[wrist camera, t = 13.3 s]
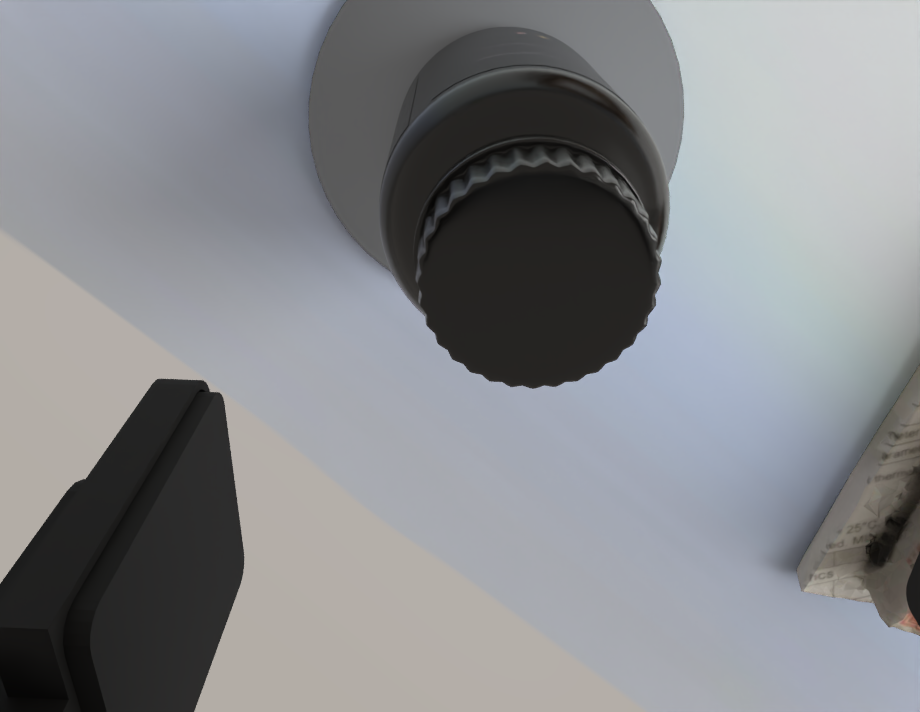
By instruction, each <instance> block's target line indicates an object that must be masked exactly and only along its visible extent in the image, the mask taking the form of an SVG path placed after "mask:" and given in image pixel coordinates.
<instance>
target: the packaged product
mask: <svg viewBox="0 0 920 712" xmlns="http://www.w3.org/2000/svg"><path fill="white" fill-rule="evenodd" d="M919 552H920V365H919V366H918V368H917V370H916V371H915V373H914V374H913V376H912V377H911V379H910V381H909V382H908V384H907V385H906V387H905V388H904V390H903V392H902V393H901V395H900V396H899V398H898V399H897V401H896V402H895V404H894V406H893V407H892V409H891V410H890V412H889V413H888V415H887V416H886V418H885V419H884V421H883V422H882V424H881V426H880V427H879V429H878V430H877V432H876V434H875V435H874V437H873V439H872V440H871V442H870V443H869V445H868V447H867V448H866V450H865V451H864V453H863V455H862V456H861V458H860V460H859V461H858V463H857V465H856V466H855V468H854V469H853V471H852V473H851V474H850V476H849V478H848V479H847V481H846V483H845V485H844V486H843V488H842V490H841V492H840V493H839V495H838V497H837V499H836V500H835V502H834V504H833V506H832V507H831V509H830V511H829V512H828V514H827V516H826V518H825V519H824V521H823V523H822V525H821V526H820V528H819V530H818V532H817V533H816V535H815V537H814V538H813V540H812V542H811V544H810V545H809V547H808V549H807V551H806V552H805V554H804V556H803V558H802V559H801V561H800V564H799V566H798V568H797V570H796V571H797V575H798V579H799V583H800V587H801V591H803V592H808V593H813V594H819V595H824V596H829V597H837V598H845V599H851V600H855V601H861V602H870V603H874V604H875V606H876V608H877V610H878V613H879V615H880V617H881V618H882V620H883V621H884V622H885V623H886V624H887V625H888V627H896V628H898V629H901V630H903V631H907V632H911V633H914V634H917V635H919V636H920V627H919V625H918V623H917V622H916V620H915V618H914V617H913V615H912V613H911V611H910V609H909V607H908V603H907V597H906V586H907V582H908V579H909V576H910V574H911V572H912V569H913V567H914V564H915V562H916V559H917V557H918V554H919Z"/></svg>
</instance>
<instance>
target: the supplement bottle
mask: <svg viewBox="0 0 920 712" xmlns="http://www.w3.org/2000/svg"><path fill="white" fill-rule="evenodd" d="M669 212H670V197H669V186H668V179H667V175H666V171H665V166H664V164H663V161H662V158H661V155H660V152H659V150H658V148H657V146H656V144H655V142H654V140H653V138H652V137H651V135H650V133H649V132H648V130H647V128H646V127H645V125H644V124H643V122H642V121H641V120H640V118H639V117H638V116H637V115H636V113H635V112H634V111H633V110H632V109H631V108H630V106H629V105H628V104H627V103H626V102H625V101H624V100H623V99H622V98H621V97H620V96H619V95H618V94H617V93H616V92H615V91H614V90H613V89H612V88H611V86H610V85H609V84H608V83H607V82H606V81H605V80H604V79H603V78H602V77H601V76H600V75H599V74H598V73H597V72H596V71H595V70H594V69H593V68H592V66H591V65H590V64H589V63H588V62H587V61H586V60H585V59H584V58H583V57H581V56H580V55H579V54H578V53H577V52H576V51H574V50H573V49H572V48H571V47H569V46H568V45H566V44H565V43H563V42H562V41H560V40H558V39H556V38H554V37H552V36H550V35H547V34H545V33H542V32H539V31H535V30H532V29H527V28H521V27H494V28H487V29H483V30H479V31H475V32H473V33H470V34H467V35H465V36H463V37H461V38H459V39H457V40H455V41H453V42H451V43H450V44H448V45H447V46H445V47H444V48H443V49H441V50H440V51H439V52H437V53H436V54H435V55H434V56H433V57H432V58H431V59H430V60H429V61H428V62H427V63H426V64H425V66H424V67H423V68H422V69H421V70H420V72H419V73H418V75H417V76H416V77H415V79H414V80H413V82H412V84H411V86H410V88H409V89H408V92H407V94H406V96H405V99H404V101H403V104H402V107H401V110H400V113H399V117H398V120H397V124H396V128H395V132H394V136H393V140H392V144H391V147H390V151H389V155H388V159H387V163H386V167H385V171H384V175H383V180H382V185H381V190H380V199H379V227H380V236H381V241H382V246H383V250H384V253H385V256H386V260H387V262H388V264H389V267H390V269H391V272H392V274H393V276H394V277H395V279H396V281H397V283H398V285H399V286H400V288H401V289H402V291H403V292H404V294H405V295H406V296H407V298H408V299H409V300H410V301H411V302H412V304H413V305H414V306H415V307H416V308H417V309H418V310H419V311H420V312H421V313H422V314H423V315H424V316H425V319H426V325H427V326H428V327H429V328H430V329H431V330H432V331H433V332H434V333H435V336H436V339H437V343H438V344H439V345H441V346H442V347H443V348H445V349H447V350H448V351H449V354H450V356H451V358H452V359H453V360H455V361H457V362H460V363H463V364H464V365H465V366H466V368H467V369H468V370H469V371H470V372H472V373H476V374H482V375H483V376H484V377H485V378H486V379H487V380H489V381H493V382H503V383H505V384H506V385H508V386H510V387H515V386H522V385H523V386H526V387H529V388H532V389H534V388H538V387H541V386H544V385H546V386H552V387H556V386H558V385H561V384H562V383H564V382H573V381H578V380H580V379H581V378H583V377H584V376H585V375H586V374H590V373H596V372H598V371H599V370H600V369H601V368H602V367H603V366H604V365H605V364H606V363H609V362H612V361H614V360H617V358H618V357H619V356H620V354H621V352H622V351H623V350H624V349H626V348H628V347H630V346H631V345H633V344H634V341H635V339H636V336H637V334H638V333H639V332H640V331H642V330H643V329H644V328H645V327H646V326H647V321H648V315H649V314H650V312H651V311H652V310H653V309H654V307H655V306H656V298H655V294H656V292H657V291H658V289H659V287H660V285H661V280H660V276H659V274H658V272H659V269H660V266H661V262H662V259H661V257H660V254H661V252H662V249H663V245H664V242H665V239H666V234H667V229H668V224H669Z"/></svg>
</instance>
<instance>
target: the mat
mask: <svg viewBox="0 0 920 712" xmlns="http://www.w3.org/2000/svg"><path fill="white" fill-rule="evenodd" d="M494 27H521V28H527V29H532V30H535V31H539V32H542V33H545V34H547V35H550V36H552V37H554V38H556V39H558V40H560V41H562V42H563V43H565V44H566V45H568V46H569V47H571V48H572V49H573V50H574V51H576V52H577V53H578V54H579V55H580V56H581V57H583V58H584V59H585V60H586V61H587V62H588V63H589V64H590V65H591V66H592V68H593V69H594V70H595V71H596V72H597V73H598V74H599V75H600V76H601V77H602V78H603V79H604V80H605V81H606V82H607V83H608V84H609V85H610V86H611V88H612V89H613V90H614V91H615V92H616V93H617V94H618V95H619V96H620V97H621V98H622V99H623V100H624V101H625V102H626V103H627V104H628V105H629V106H630V108H631V109H632V110H633V111H634V112H635V113H636V115H637V116H638V117H639V118H640V120H641V121H642V122H643V124H644V125H645V127H646V128H647V130H648V132H649V133H650V135H651V137H652V138H653V140H654V142H655V144H656V146H657V148H658V150H659V152H660V155H661V158H662V161H663V164H664V166H665V171H666V175H667V179H668V184H669V181H670V179H671V176H672V173H673V170H674V168H675V165H676V161H677V157H678V153H679V148H680V144H681V140H682V130H683V119H684V100H683V85H682V79H681V73H680V67H679V63H678V59H677V56H676V53H675V50H674V47H673V43H672V40H671V38H670V36H669V34H668V31H667V29H666V27H665V25H664V23H663V21H662V19H661V16H660V15H659V13H658V12H657V10H656V9H655V7H654V6H653V4H652V3H651V1H650V0H347V1H346V2H345V4H344V5H343V6H342V8H341V10H340V11H339V13H338V15H337V16H336V18H335V20H334V22H333V23H332V25H331V27H330V28H329V31H328V33H327V35H326V38H325V40H324V42H323V45H322V47H321V49H320V52H319V55H318V59H317V62H316V66H315V70H314V73H313V77H312V84H311V91H310V99H309V133H310V141H311V149H312V154H313V158H314V162H315V166H316V170H317V174H318V177H319V179H320V182H321V184H322V187H323V189H324V192H325V194H326V197H327V199H328V201H329V202H330V204H331V206H332V208H333V210H334V211H335V213H336V215H337V217H338V219H339V220H340V221H341V223H342V224H343V225H344V227H345V228H346V229H347V231H348V232H349V234H350V235H351V236H352V237H353V238H354V240H355V241H356V242H357V243H358V244H359V245H360V246H361V247H362V248H363V249H364V250H365V251H366V252H367V253H368V254H369V255H370V256H371V257H373V258H374V259H375V260H376V261H377V262H379V263H380V264H381V265H382V266H383V267H385V268H386V269H388V270H389V271H391V269H390V267H389V264H388V262H387V260H386V256H385V253H384V250H383V246H382V241H381V236H380V227H379V199H380V190H381V185H382V180H383V175H384V171H385V167H386V163H387V159H388V155H389V151H390V147H391V144H392V140H393V136H394V132H395V128H396V124H397V120H398V117H399V113H400V110H401V107H402V104H403V101H404V99H405V96H406V94H407V92H408V89H409V88H410V86H411V84H412V82H413V80H414V79H415V77H416V76H417V75H418V73H419V72H420V70H421V69H422V68H423V67H424V66H425V64H426V63H427V62H428V61H429V60H430V59H431V58H432V57H433V56H434V55H435V54H436V53H437V52H439V51H440V50H441V49H443V48H444V47H445V46H447V45H448V44H450V43H451V42H453V41H455V40H457V39H459V38H461V37H463V36H465V35H467V34H470V33H473V32H475V31H479V30H483V29H487V28H494Z"/></svg>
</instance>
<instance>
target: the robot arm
mask: <svg viewBox="0 0 920 712" xmlns="http://www.w3.org/2000/svg"><path fill="white" fill-rule="evenodd" d="M243 569H244V550H243V542H242V535H241V527H240V520H239V512H238V505H237V497H236V489H235V481H234V474H233V466H232V459H231V451H230V443H229V437H228V428H227V421H226V413H225V405H224V401H223V397H222V395H221V394H220V393H218V392H210V391H209V388H208V385H207V383H206V382H204V381H202V380H178V379H157V380H156V381H155V382H154V383H153V384H152V385H151V387H150V388H149V390H148V391H147V393H146V394H145V396H144V397H143V398H142V400H141V401H140V402H139V404H138V405H137V407H136V408H135V410H134V411H133V413H132V414H131V415H130V417H129V418H128V420H127V421H126V422H125V424H124V425H123V427H122V428H121V430H120V431H119V433H118V434H117V435H116V437H115V438H114V440H113V441H112V443H111V444H110V445H109V447H108V448H107V450H106V451H105V452H104V454H103V455H102V457H101V458H100V459H99V461H98V462H97V464H96V465H95V467H94V468H93V469H92V471H91V472H90V474H89V475H88V477H87V478H86V479H83V480H80V481H78V482H76V483H74V485H72V487H70V489H69V490H68V491H67V492H66V493H65V495H64V496H63V497H62V499H61V500H60V502H59V503H58V505H57V506H56V507H55V509H54V510H53V511H52V513H51V514H50V516H49V517H48V518H47V520H46V522H45V523H44V524H43V526H42V527H41V528H40V530H39V531H38V532H37V534H36V535H35V536H34V538H33V539H32V541H31V542H30V543H29V545H28V546H27V547H26V549H25V550H24V552H23V553H22V554H21V556H20V557H19V559H18V560H17V561H16V563H15V564H14V566H13V567H12V568H11V570H10V571H9V572H8V574H7V575H6V577H5V578H4V579H3V581H2V582H1V584H0V712H194V710H195V708H196V705H197V702H198V699H199V697H200V694H201V691H202V688H203V685H204V683H205V680H206V677H207V675H208V672H209V669H210V666H211V663H212V661H213V658H214V655H215V653H216V650H217V647H218V644H219V642H220V639H221V636H222V633H223V630H224V628H225V625H226V622H227V620H228V617H229V614H230V611H231V609H232V606H233V603H234V600H235V597H236V595H237V592H238V589H239V587H240V584H241V580H242V575H243ZM906 597H907V603H908V607H909V609H910V611H911V613H912V615H913V617H914V618H915V620H916V622H917V623H918V625H919V627H920V552H919V554H918V557H917V559H916V562H915V564H914V567H913V569H912V572H911V574H910V576H909V579H908V582H907V586H906Z"/></svg>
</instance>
